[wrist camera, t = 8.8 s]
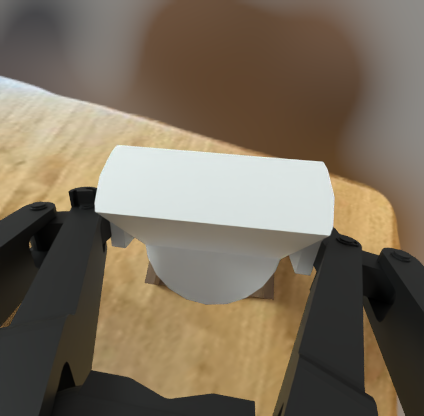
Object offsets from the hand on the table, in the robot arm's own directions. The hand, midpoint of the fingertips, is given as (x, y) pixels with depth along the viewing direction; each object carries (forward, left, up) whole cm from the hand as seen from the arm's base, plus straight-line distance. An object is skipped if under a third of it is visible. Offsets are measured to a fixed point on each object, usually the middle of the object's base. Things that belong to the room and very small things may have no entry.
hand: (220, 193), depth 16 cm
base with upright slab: (0, -3, -5) cm, 6 cm away
